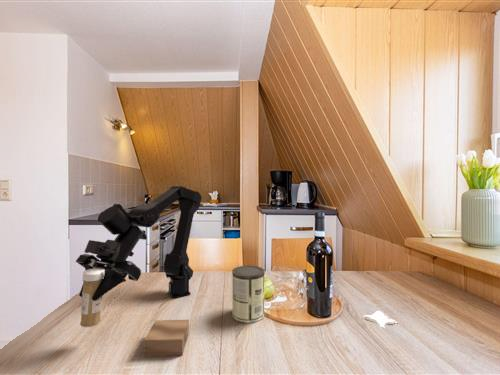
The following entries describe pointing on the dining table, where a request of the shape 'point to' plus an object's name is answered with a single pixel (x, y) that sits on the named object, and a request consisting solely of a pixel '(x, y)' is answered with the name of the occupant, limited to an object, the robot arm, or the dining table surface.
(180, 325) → the walnut box
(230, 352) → the dining table surface
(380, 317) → the acanthus leaf ornament
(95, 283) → the sprinkles bottle
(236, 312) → the coffee can
